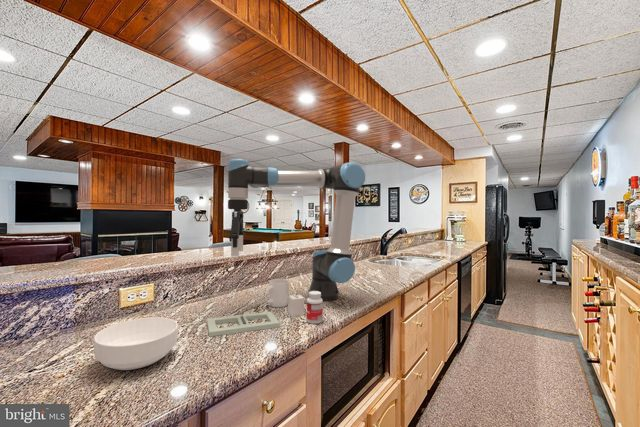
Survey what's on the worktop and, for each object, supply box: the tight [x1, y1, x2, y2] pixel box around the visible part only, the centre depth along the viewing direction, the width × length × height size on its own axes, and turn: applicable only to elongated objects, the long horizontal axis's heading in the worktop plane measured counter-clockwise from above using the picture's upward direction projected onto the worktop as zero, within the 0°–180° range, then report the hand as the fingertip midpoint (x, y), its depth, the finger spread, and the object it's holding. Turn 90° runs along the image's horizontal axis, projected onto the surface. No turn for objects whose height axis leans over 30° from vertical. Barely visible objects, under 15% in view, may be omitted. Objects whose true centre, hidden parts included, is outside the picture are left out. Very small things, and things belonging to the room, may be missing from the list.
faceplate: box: [206, 311, 281, 338], centre depth 109 cm, size 24×13×2 cm, turn 114°
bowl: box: [93, 316, 179, 371], centre depth 82 cm, size 20×20×8 cm
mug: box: [264, 278, 290, 309], centre depth 132 cm, size 9×12×11 cm
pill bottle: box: [305, 291, 324, 325], centre depth 114 cm, size 6×6×11 cm
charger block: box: [287, 294, 305, 317], centre depth 122 cm, size 5×5×7 cm
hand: (237, 253), depth 116 cm, fingers open, 13 cm apart
